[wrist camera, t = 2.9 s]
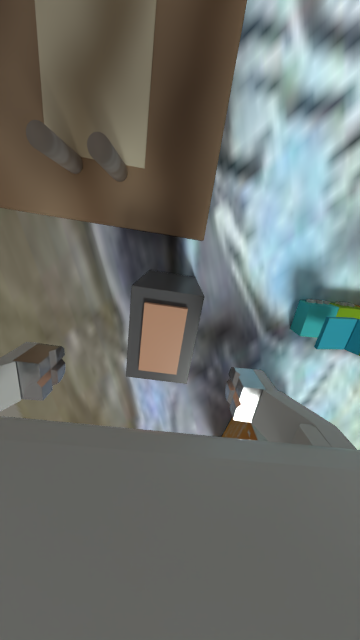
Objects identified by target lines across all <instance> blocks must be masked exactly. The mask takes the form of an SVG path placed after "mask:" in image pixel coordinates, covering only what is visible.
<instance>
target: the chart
mask: <svg viewBox="0 0 360 640" xmlns="http://www.w3.org/2000/svg"><path fill="white" fill-rule="evenodd" d="M290 329H291V330H293V331H294V332H295V333H297V334H298V335H299V336H305V337H316V338H318V339H317V341H316V344H315V346H314V347H315V348H316V349H345V350H347V351H349V352H352V353H354V354H356V355H359V356H360V306H357V305H355V304H351V303H345V302H335V303H330V302H329V301H323V300H313V299H307V300H300V301H299V304H298V307H297V310H296V313H295V316H294V319H293V322H292V325H291V328H290Z"/></svg>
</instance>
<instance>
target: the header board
mask: <svg viewBox="0 0 360 640" xmlns="http://www.w3.org/2000/svg"><path fill="white" fill-rule="evenodd" d="M246 3H247V0H0V208H6V209H12V210H18V211H24V212H30V213H36V214H42V215H48V216H55V217H61V218H67V219H73V220H79V221H85V222H91V223H97V224H103V225H109V226H115V227H121V228H127V229H133V230H139V231H145V232H151V233H158V234H164V235H170V236H176V237H182V238H188V239H194V240H200V241H203V240H204V235H205V230H206V224H207V219H208V213H209V208H210V202H211V197H212V191H213V186H214V180H215V175H216V169H217V164H218V158H219V152H220V147H221V141H222V136H223V130H224V125H225V119H226V114H227V108H228V103H229V97H230V92H231V86H232V81H233V75H234V70H235V64H236V59H237V53H238V47H239V42H240V36H241V31H242V25H243V20H244V14H245V9H246Z"/></svg>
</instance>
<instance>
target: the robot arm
mask: <svg viewBox="0 0 360 640" xmlns="http://www.w3.org/2000/svg"><path fill="white" fill-rule="evenodd" d="M64 355H65V353H64V348H63V347H62V346H55V345H48V344H40V343H33V342H26V343H24V344H22V345H21V346H19V347H17V348H16V349H14V350H13V351H11V352H9V353H8V354H6V355H4V356H3V357H1V358H0V411H2V410H4V409H5V408H8V407H9V406H11V405H13V404H15V403H17V402H19V401H20V400H21V399H29V400H44V399H45V398H46V396H47V395H48V394H49V393H50V392H51V391H52V386H53V385H55V384H57V383H59V382H60V380H61V379H62V377H63V375H64V373H65V362H64V361H63V360H62V358H63V356H64ZM229 376H230V378H231V379H230V380H228V381H227V383H226V387H225V395H226V400H227V402H228V403H230V404H231V405H230V408H229V409H230V412H231V414H232V417H233V420H239V421H246V422H252V424H253V425H254V426H255V427H256V429H257V430H258V431H259V432H260V433H261V434H262V435H263V436H264V437H265V438H266V439H267V440H268V441H258V440H248V439H237V438H227V437H216V436H205V435H195V434H184V433H174V432H163V431H152V430H142V429H131V428H121V427H110V426H99V425H89V424H78V423H68V422H57V421H47V420H36V419H26V418H15V417H5V416H0V640H360V450H357V449H356V448H355V447H354V446H353V445H352V443H351V442H350V441H349V440H348V439H347V438H346V437H345V436H344V435H343V433H342V432H341V431H340V430H339V429H338V428H337V427H336V426H335V425H333V424H331V423H330V422H328V421H327V420H325V419H324V418H322V417H320V416H319V415H317V414H316V413H314V412H312V411H311V410H309V409H308V408H306V407H305V406H303V405H301V404H300V403H298V402H297V401H295V400H293V399H292V398H290V397H289V396H287V395H286V394H284V393H282V392H280V391H277V389H276V388H275V387H274V385H273V384H272V382H271V381H270V380H269V378H268V377H267V376H266V374H265V373H264V371H262V370H256V369H245V368H234V367H232V368H231V370H230V372H229Z"/></svg>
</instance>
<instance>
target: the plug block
mask: <svg viewBox="0 0 360 640" xmlns="http://www.w3.org/2000/svg"><path fill="white" fill-rule="evenodd" d="M203 300H204V295H203V293H202V290H201V288H200V286H199V284H198V282H197V280H196V278H195V277H193V276H186V275H180V274H173V273H167V272H160V271H154V270H149V271H148V272H147V273H146V274H145V275H143V276H142V277H141V278H140V279H139V280H138V281H136V282H135V283H134V284H133V285H132V288H131V304H130V320H129V337H128V353H127V369H126V376H127V377H135V378H143V379H151V380H160V381H168V382H176V383H184V384H187V380H188V375H189V370H190V365H191V360H192V355H193V350H194V345H195V340H196V335H197V330H198V325H199V320H200V315H201V310H202V305H203Z"/></svg>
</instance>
